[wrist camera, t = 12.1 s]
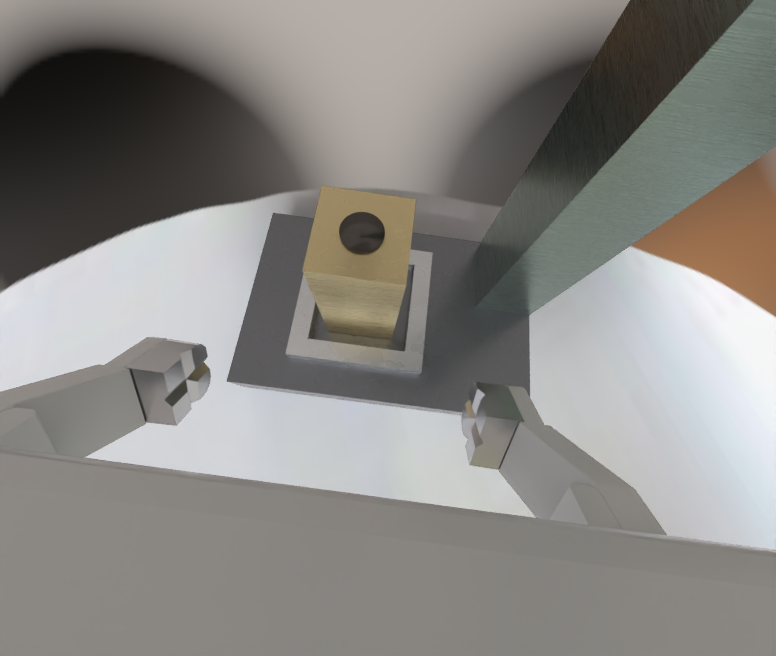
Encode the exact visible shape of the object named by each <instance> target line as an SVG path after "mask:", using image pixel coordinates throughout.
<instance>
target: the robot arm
mask: <svg viewBox="0 0 776 656" xmlns="http://www.w3.org/2000/svg"><path fill="white" fill-rule="evenodd" d="M207 357H208V356H207V352H206V347H205V346H203V345H202V344H198V343H191V342H185V341H179V340H172V339H166V338H158V337H147V338H145V339H144V340H142V341H141V342H139V343H138V344H136V345H135V346H133V347H131V348H130V349H128V350H127V351H125V352H124V353H122V354H121V355H119V356H118V357H116V358H115V359H113V360H111V361H110V362H108V363H107V364H105V365H95V366H92V367H88V368H84V369H81V370H77V371H74V372H70V373H66V374H63V375H59V376H56V377H52V378H49V379H45V380H41V381H38V382H34V383H31V384H27V385H23V386H20V387H16V388H13V389H9V390H6V391H2V392H0V656H776V550H772V549H764V548H757V547H749V546H742V545H734V544H727V543H719V542H712V541H704V540H697V539H689V538H682V537H674V536H667V534H666V533H665V531H664V530H663V529H662V527H661V526H660V524H659V523H658V521H657V520H656V519H655V517H654V516H653V514H652V513H651V511H650V510H649V509H648V507H647V506H646V504H645V503H644V501H643V500H642V499H641V497H640V496H639V494H638V493H637V491H636V490H635V489H634V488H633V487H631V486H630V485H628V484H627V483H626V482H624V481H623V480H622V479H620V478H619V477H618V476H616V475H615V474H614V473H612V472H611V471H610V470H608V469H607V468H606V467H604V466H603V465H602V464H600V463H599V462H598V461H596V460H595V459H594V458H592V457H591V456H590V455H588V454H587V453H586V452H584V451H583V450H582V449H580V448H579V447H578V446H576V445H575V444H574V443H572V442H571V441H570V440H568V439H567V438H566V437H564V436H563V435H561V434H560V433H559V432H557V431H556V430H555V429H553V428H552V427H551V426H548V425H544V423H543V421H542V419H541V417H540V416H539V414H538V412H537V410H536V408H535V406H534V404H533V402H532V401H531V399H530V397H529V395H528V393H527V391H526V389H525V388H523V387H519V386H509V385H498V384H489V383H481V382H472V384H471V385H470V388H469V391H468V393H469V397H470V400H469V401H467V402H466V403H465V404H464V408H463V412H462V421H461V422H462V431H463V435H464V436H465V437H466V438H467V439H468V440H467V443H466V451H467V456H468V460H469V465H472V466H479V467H485V468H491V469H497V470H499V472H500V473H501V474H502V476H503V477H504V478H505V479H506V481H507V482H508V483H509V484H510V486H511V487H512V488H513V489H514V491H515V492H516V493H517V494H518V495H519V497H520V498H521V499H522V500H523V502H524V503H525V504H526V505H527V507H528V508H529V509H530V510H531V512H532V513H533V514H534V515H535V517H536V518H532V517H525V516H517V515H510V514H502V513H495V512H487V511H479V510H472V509H464V508H457V507H449V506H441V505H434V504H427V503H419V502H412V501H405V500H397V499H390V498H382V497H375V496H368V495H360V494H353V493H345V492H338V491H331V490H323V489H316V488H308V487H301V486H293V485H286V484H278V483H270V482H263V481H255V480H248V479H240V478H233V477H225V476H218V475H210V474H203V473H195V472H188V471H180V470H173V469H165V468H158V467H150V466H143V465H135V464H128V463H120V462H113V461H106V460H98V459H91V458H84V457H86V456H88V455H90V454H92V453H94V452H95V451H97V450H99V449H101V448H103V447H104V446H106V445H108V444H110V443H112V442H114V441H115V440H117V439H119V438H121V437H123V436H125V435H126V434H128V433H130V432H132V431H134V430H136V429H137V428H139V427H141V426H143V425H145V424H146V422H148V423H157V424H166V425H176V426H177V425H178V424H179V422H180V421H181V420H182V419H183V418H184V417H185V416H186V415H187V414H188V412H189V411H190V410H191V403H193V402H195V401H197V400H199V399H201V398H202V397H203V395H204V394H205V393H206V392H207V389H208V387H209V384H210V377H211V375H210V369H209V368H208V367H207V365H206V364H205V363H204V361H205V360H206V358H207Z"/></svg>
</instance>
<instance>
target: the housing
mask: <svg viewBox="0 0 776 656" xmlns="http://www.w3.org/2000/svg"><path fill="white" fill-rule="evenodd" d="M415 206H416V199H411V198H405V197H398V196H391V195H384V194H377V193H370V192H363V191H356V190H349V189H342V188H335V187H328V186H322V187H321V191H320V195H319V200H318V204H317V209H316V213H315V217H314V222H313V226H312V231H311V235H310V239H309V244H308V248H307V252H306V257H305V261H304V266H303V270H302V271H303V274H304V276H305V278H306V281H307V283H308V285H309V288H310V290H311V292H312V295H313V297H314V299H315V302H316V304H317V306H318V309H319V311H320V313H321V315H322V318H323V320H324V322H325V325H326V327H327V329H328V331H329V332H336V333H344V334H351V335H359V336H366V337H373V338H381V339H388V340H392V336H393V332H394V329H395V325H396V321H397V318H398V314H399V310H400V306H401V303H402V299H403V295H404V292H405V288H406V283H407V274H408V265H409V257H410V248H411V240H412V231H413V223H414V214H415Z"/></svg>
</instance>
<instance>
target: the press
mask: <svg viewBox="0 0 776 656" xmlns="http://www.w3.org/2000/svg"><path fill="white" fill-rule="evenodd" d="M775 146H776V0H630V1H629V3H628V5H627V6H626V8H625V10H624V11H623V13H622V14H621V16H620V18H619V19H618V21H617V23H616V24H615V26H614V27H613V29H612V31H611V32H610V34H609V35H608V37H607V39H606V40H605V42H604V44H603V45H602V47H601V48H600V50H599V52H598V53H597V55H596V57H595V58H594V60H593V61H592V63H591V65H590V67H589V68H588V70H587V71H586V73H585V74H584V76H583V78H582V79H581V81H580V83H579V84H578V86H577V88H576V89H575V91H574V92H573V94H572V96H571V97H570V99H569V100H568V102H567V104H566V105H565V107H564V109H563V110H562V112H561V113H560V115H559V117H558V118H557V120H556V121H555V123H554V125H553V126H552V128H551V130H550V131H549V133H548V134H547V136H546V138H545V140H544V141H543V143H542V144H541V146H540V148H539V149H538V151H537V152H536V154H535V156H534V157H533V159H532V160H531V162H530V164H529V165H528V167H527V169H526V170H525V172H524V173H523V175H522V177H521V178H520V180H519V182H518V183H517V185H516V186H515V188H514V190H513V191H512V193H511V195H510V196H509V198H508V199H507V201H506V203H505V204H504V206H503V208H502V209H501V211H500V212H499V214H498V216H497V217H496V219H495V221H494V222H493V224H492V225H491V227H490V229H489V230H488V232H487V233H486V235H485V237H484V238H483V240H482V242H474V241H467V240H460V239H453V238H446V237H439V236H432V235H425V234H418V233H412V240H411V248H410V257H409V265H408V274H407V283H406V288H405V292H404V295H403V299H402V303H401V306H400V310H399V314H398V318H397V321H396V325H395V329H394V332H393V336H392V340H388V339H381V338H373V337H366V336H359V335H351V334H344V333H336V332H329V331H328V329H327V327H326V325H325V322H324V320H323V318H322V315H321V313H320V311H319V309H318V306H317V304H316V302H315V299H314V297H313V295H312V292H311V290H310V288H309V285H308V283H307V281H306V278H305V276H304V274H303V271H302V270H303V266H304V261H305V257H306V252H307V248H308V244H309V239H310V235H311V231H312V226H313V222H314V219H313V218H305V217H298V216H291V215H284V214H277V213H273V215H272V219H271V222H270V226H269V230H268V233H267V237H266V241H265V244H264V248H263V251H262V255H261V259H260V262H259V266H258V270H257V273H256V277H255V280H254V284H253V288H252V291H251V295H250V299H249V302H248V306H247V309H246V313H245V317H244V320H243V324H242V328H241V331H240V335H239V338H238V342H237V346H236V349H235V353H234V357H233V360H232V364H231V367H230V371H229V375H228V378H227V382H230V383H234V384H237V385H240V386H244V387H250V388H258V389H266V390H273V391H281V392H288V393H296V394H304V395H311V396H319V397H326V398H334V399H341V400H349V401H357V402H364V403H372V404H379V405H387V406H395V407H402V408H410V409H417V410H425V411H433V412H440V413H448V414H455V415H462V412H463V408H464V404H465V403H466V402H467V401H469V400H470V397H469V393H468V391H469V388H470V385H471V384H472V382H481V383H489V384H498V385H509V386H519V387H523V388H525V389H526V391H527V393H528V395H529V397H530V359H529V315H530V314H531V313H533V312H534V311H536V310H537V309H539V308H540V307H542V306H543V305H544V304H546V303H547V302H549V301H550V300H552V299H553V298H555V297H556V296H558V295H559V294H561V293H562V292H563V291H565V290H566V289H568V288H569V287H571V286H572V285H574V284H575V283H577V282H578V281H580V280H581V279H582V278H584V277H585V276H587V275H588V274H590V273H591V272H593V271H594V270H596V269H597V268H599V267H600V266H601V265H603V264H604V263H606V262H607V261H609V260H610V259H612V258H613V257H615V256H616V255H618V254H619V253H620V252H622V251H623V250H625V249H626V248H628V247H629V246H631V245H632V244H633V243H635V242H637V241H638V240H639V239H641V238H642V237H644V236H645V235H647V234H648V233H650V232H651V231H653V230H654V229H655V228H657V227H658V226H660V225H661V224H663V223H664V222H665V221H667V220H668V219H670V218H671V217H673V216H674V215H676V214H677V213H679V212H680V211H682V210H683V209H685V208H686V207H688V206H689V205H691V204H692V203H694V202H695V201H696V200H698V199H699V198H701V197H702V196H704V195H705V194H707V193H708V192H710V191H711V190H712V189H714V188H715V187H717V186H718V185H720V184H721V183H723V182H724V181H726V180H727V179H729V178H730V177H731V176H733V175H734V174H736V173H737V172H739V171H740V170H742V169H743V168H744V167H746V166H747V165H749V164H750V163H752V162H753V161H755V160H756V159H758V158H759V157H761V156H762V155H764V154H765V153H766V152H768V151H769V150H771V149H772V148H774V147H775Z"/></svg>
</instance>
